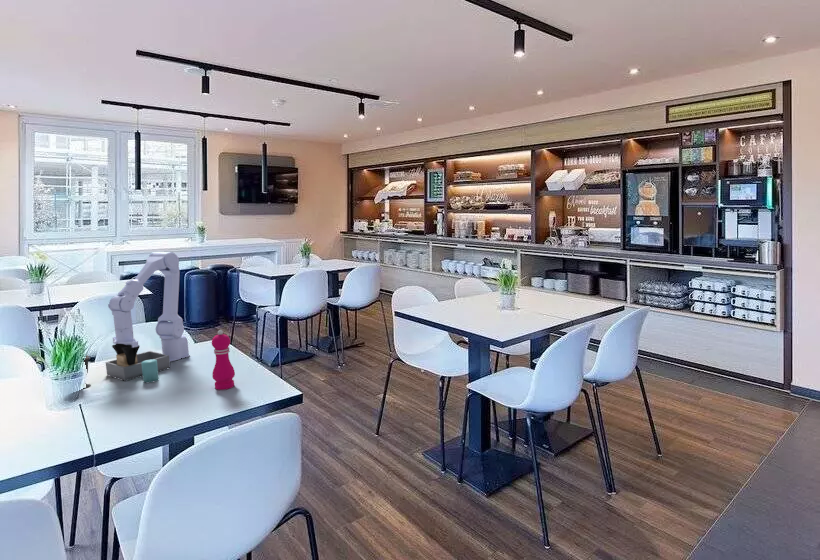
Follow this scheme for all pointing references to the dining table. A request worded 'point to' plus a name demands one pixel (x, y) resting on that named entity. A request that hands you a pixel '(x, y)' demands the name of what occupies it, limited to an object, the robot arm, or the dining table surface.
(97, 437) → the dining table surface
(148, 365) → the teal block
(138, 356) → the tote
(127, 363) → the oak cube
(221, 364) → the pepper mill
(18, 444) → the dining table surface
